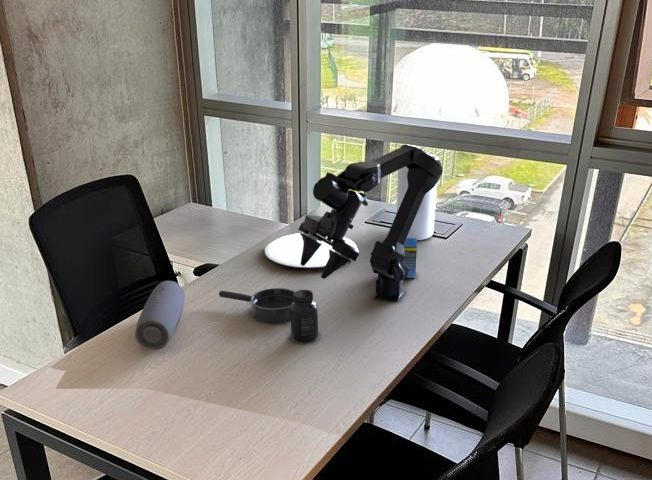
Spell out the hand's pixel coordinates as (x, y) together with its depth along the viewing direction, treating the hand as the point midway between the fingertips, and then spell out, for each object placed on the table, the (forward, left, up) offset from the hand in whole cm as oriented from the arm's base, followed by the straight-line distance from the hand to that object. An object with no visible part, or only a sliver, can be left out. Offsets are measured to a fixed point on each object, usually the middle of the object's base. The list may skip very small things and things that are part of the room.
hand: (311, 271), depth 178 cm
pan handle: (+24, -3, -13) cm, 27 cm away
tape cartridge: (-12, -37, -15) cm, 42 cm away
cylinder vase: (-7, -71, -15) cm, 73 cm away
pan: (+12, -3, -15) cm, 19 cm away
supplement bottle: (0, +7, -15) cm, 17 cm away
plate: (+19, -44, -15) cm, 50 cm away
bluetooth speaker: (+35, +17, -15) cm, 41 cm away
